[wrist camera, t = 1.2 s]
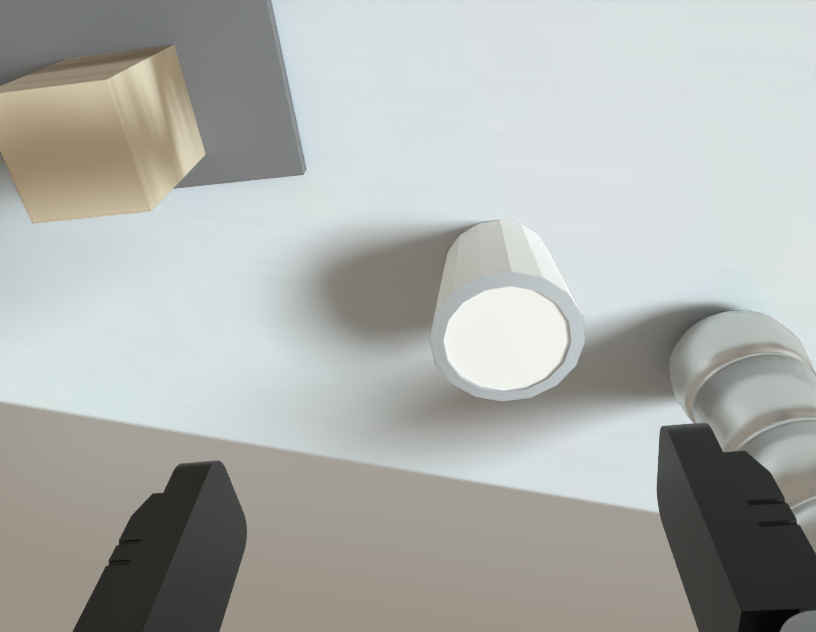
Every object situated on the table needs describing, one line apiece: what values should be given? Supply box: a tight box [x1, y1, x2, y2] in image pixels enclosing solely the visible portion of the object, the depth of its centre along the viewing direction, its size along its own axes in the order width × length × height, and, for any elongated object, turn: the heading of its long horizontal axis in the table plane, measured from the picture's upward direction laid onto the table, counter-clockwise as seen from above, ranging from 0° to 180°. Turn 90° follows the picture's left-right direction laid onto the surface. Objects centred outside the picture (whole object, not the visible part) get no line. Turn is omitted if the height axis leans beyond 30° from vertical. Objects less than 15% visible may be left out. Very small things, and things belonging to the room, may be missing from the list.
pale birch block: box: [0, 45, 206, 223], centre depth 28 cm, size 5×5×7 cm
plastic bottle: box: [669, 311, 816, 553], centre depth 29 cm, size 6×7×20 cm
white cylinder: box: [429, 220, 585, 402], centre depth 33 cm, size 7×7×7 cm
